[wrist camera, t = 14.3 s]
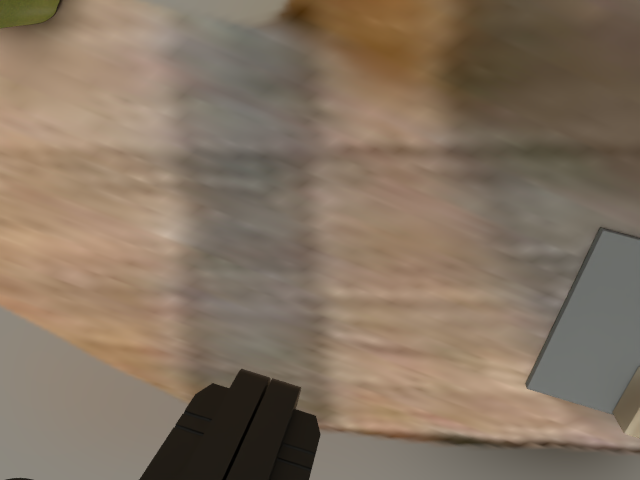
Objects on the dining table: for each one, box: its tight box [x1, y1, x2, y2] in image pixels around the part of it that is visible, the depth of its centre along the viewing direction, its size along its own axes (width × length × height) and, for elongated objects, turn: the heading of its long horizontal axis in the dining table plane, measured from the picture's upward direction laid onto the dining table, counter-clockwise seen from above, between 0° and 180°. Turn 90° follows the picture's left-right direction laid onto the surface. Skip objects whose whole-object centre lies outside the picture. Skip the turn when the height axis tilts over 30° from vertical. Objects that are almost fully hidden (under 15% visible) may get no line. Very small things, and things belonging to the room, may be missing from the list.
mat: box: [526, 228, 640, 415], centre depth 37 cm, size 14×11×1 cm
